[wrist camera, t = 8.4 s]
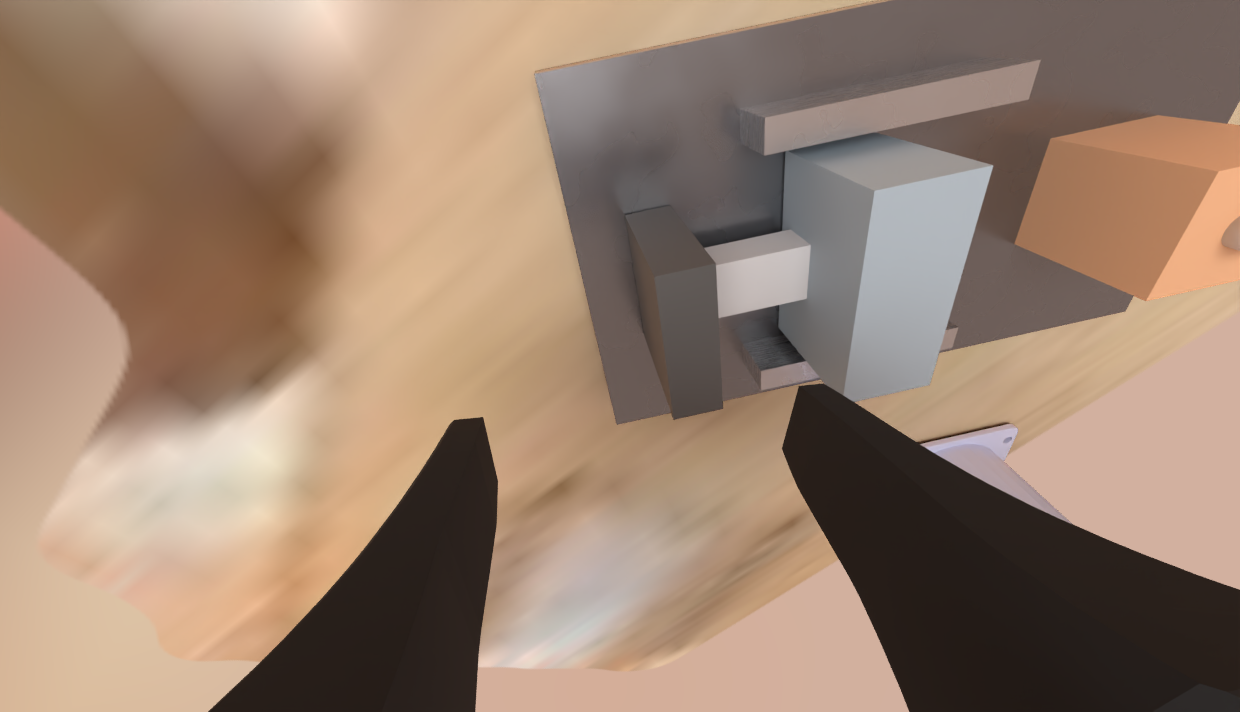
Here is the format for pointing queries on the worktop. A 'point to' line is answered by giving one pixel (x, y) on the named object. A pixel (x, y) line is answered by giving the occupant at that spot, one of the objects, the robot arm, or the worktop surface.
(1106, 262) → the housing block
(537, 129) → the worktop surface
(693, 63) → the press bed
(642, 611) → the worktop surface
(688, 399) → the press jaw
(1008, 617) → the robot arm
